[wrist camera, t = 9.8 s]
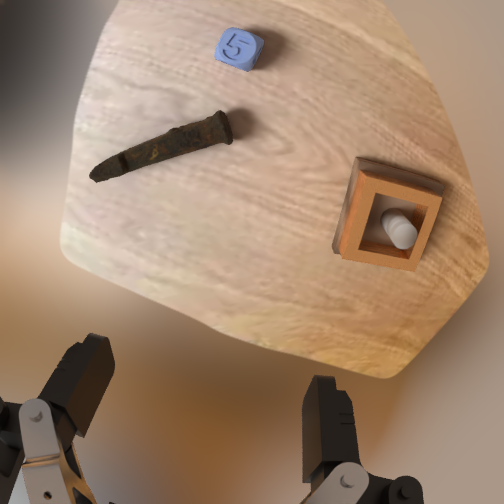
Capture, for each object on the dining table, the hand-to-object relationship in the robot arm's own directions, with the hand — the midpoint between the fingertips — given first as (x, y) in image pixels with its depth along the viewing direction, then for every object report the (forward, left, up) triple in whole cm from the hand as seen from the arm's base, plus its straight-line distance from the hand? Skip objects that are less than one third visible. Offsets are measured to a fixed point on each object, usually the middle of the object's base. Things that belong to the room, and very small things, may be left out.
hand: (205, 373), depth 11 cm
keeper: (+2, +17, -29) cm, 34 cm away
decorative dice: (-14, -4, -29) cm, 33 cm away
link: (+2, +16, -27) cm, 32 cm away
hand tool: (-1, -12, -29) cm, 32 cm away
